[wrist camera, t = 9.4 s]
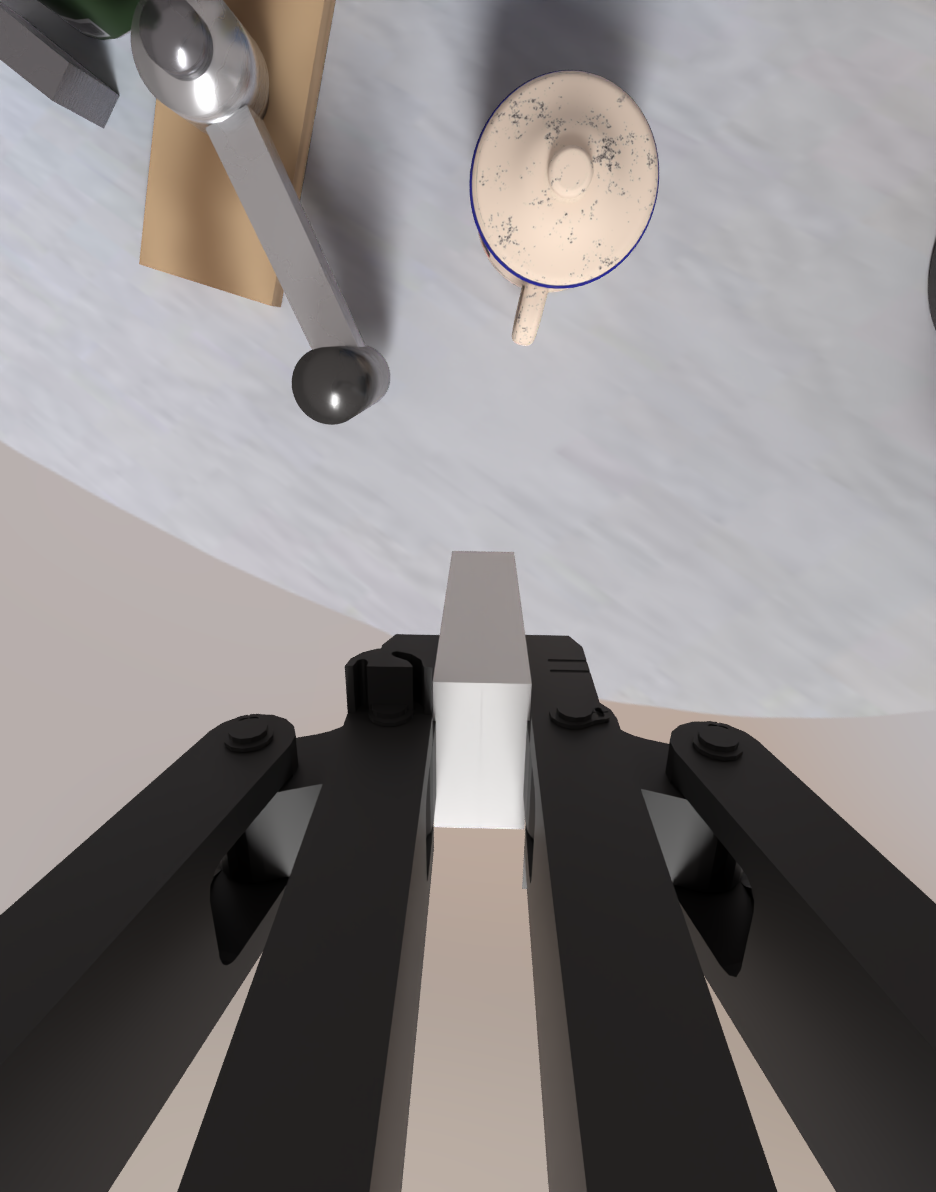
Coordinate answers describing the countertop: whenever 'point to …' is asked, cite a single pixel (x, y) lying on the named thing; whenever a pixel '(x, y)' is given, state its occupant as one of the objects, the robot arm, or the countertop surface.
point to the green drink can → (96, 16)
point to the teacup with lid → (562, 186)
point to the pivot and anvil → (166, 38)
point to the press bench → (198, 178)
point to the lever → (272, 212)
